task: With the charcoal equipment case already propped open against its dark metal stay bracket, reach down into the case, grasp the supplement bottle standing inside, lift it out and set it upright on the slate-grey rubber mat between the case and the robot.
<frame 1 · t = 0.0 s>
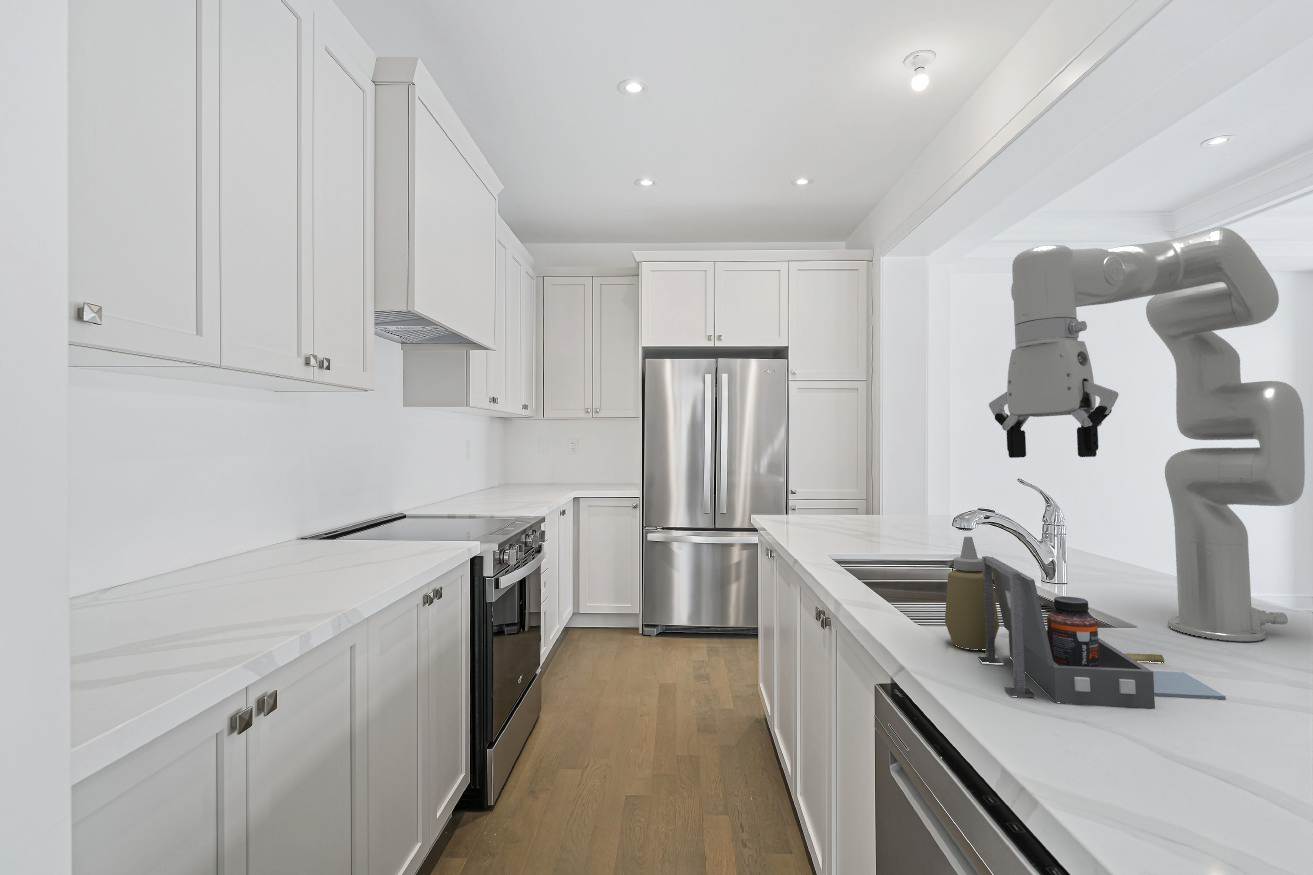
hand: (1050, 457, 89), 31 cm above the countertop, tool pointing down, fingers open, 9 cm apart
mat: (1165, 684, 86), on the countertop
squeeze bottle: (972, 647, 104), on the countertop
case: (1074, 680, 88), on the countertop
stay bracket: (1004, 676, 90), on the countertop
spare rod: (1116, 662, 96), on the countertop
supplement bottle: (1074, 681, 88), resting in case
lid: (1016, 605, 90), point 10 cm above the countertop, hinge at 100.0°
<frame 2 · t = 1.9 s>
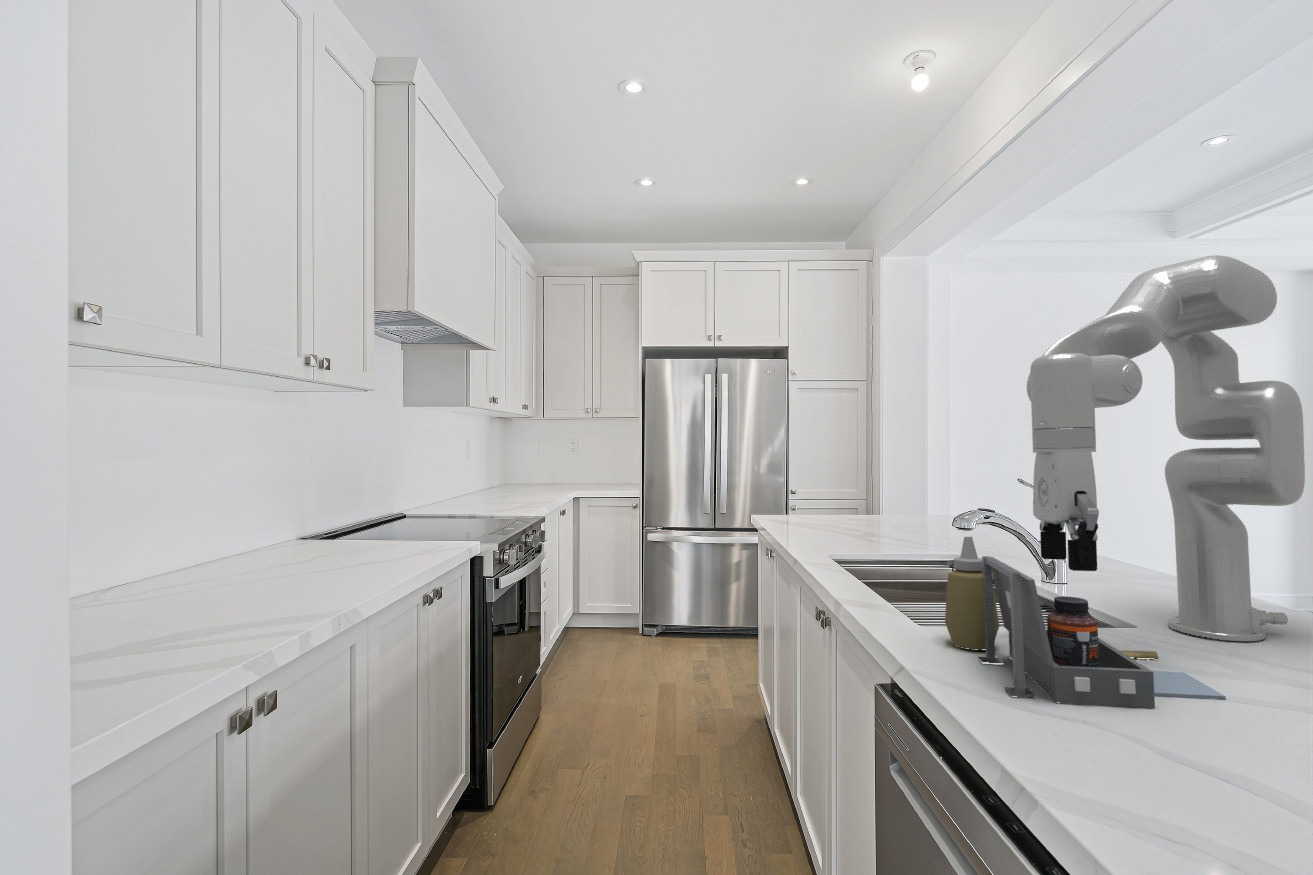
hand: (1067, 564, 88), 16 cm above the countertop, tool pointing down, fingers open, 9 cm apart
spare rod: (1111, 649, 97), point 1 cm above the countertop, tilted 171°
everything else where it was.
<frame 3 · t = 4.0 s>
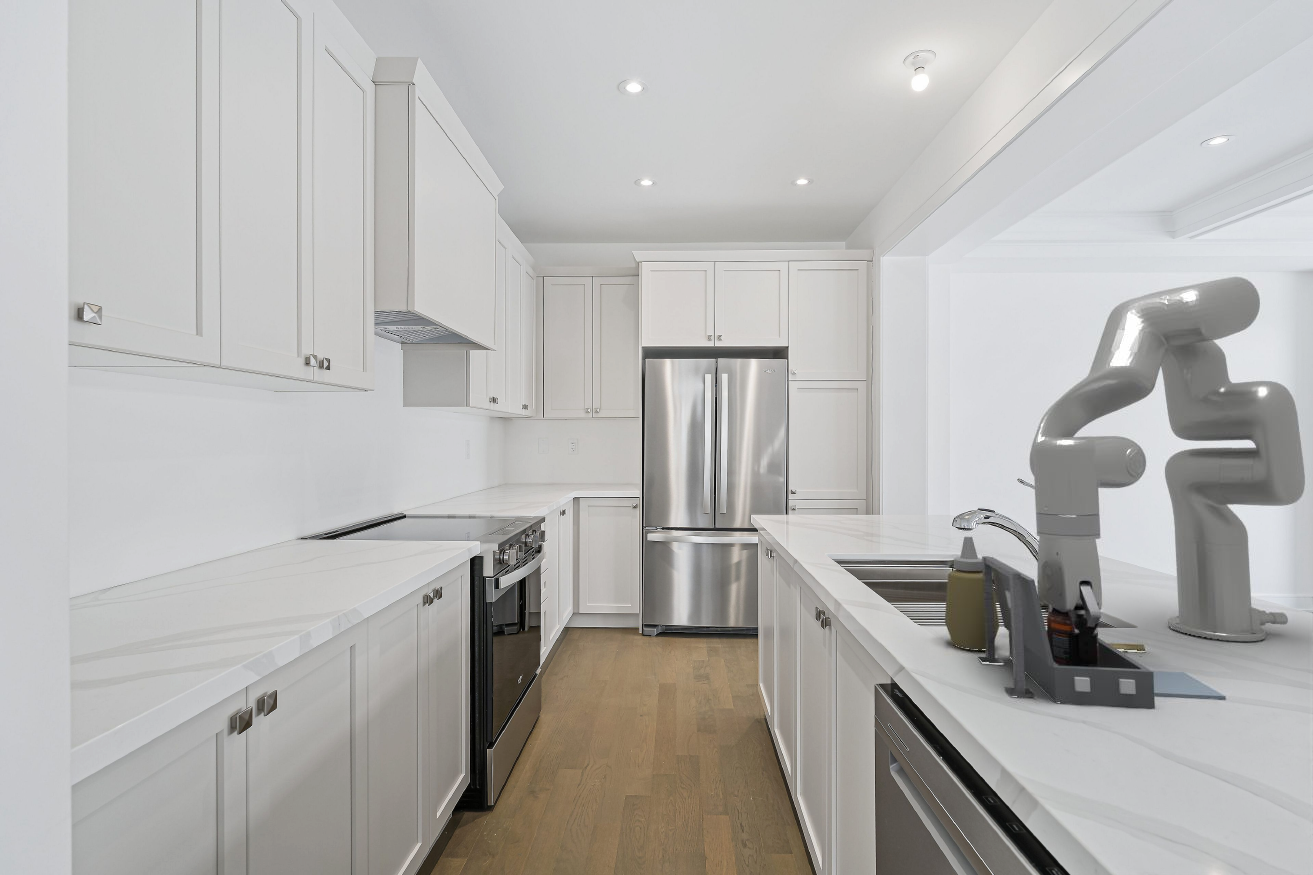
hand: (1073, 654, 88), 4 cm above the countertop, tool pointing down, fingers closed on supplement bottle, 6 cm apart
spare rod: (1099, 642, 101), point 1 cm above the countertop, tilted 170°
supplement bottle: (1074, 681, 88), resting in case, touching gripper
everything else where it was.
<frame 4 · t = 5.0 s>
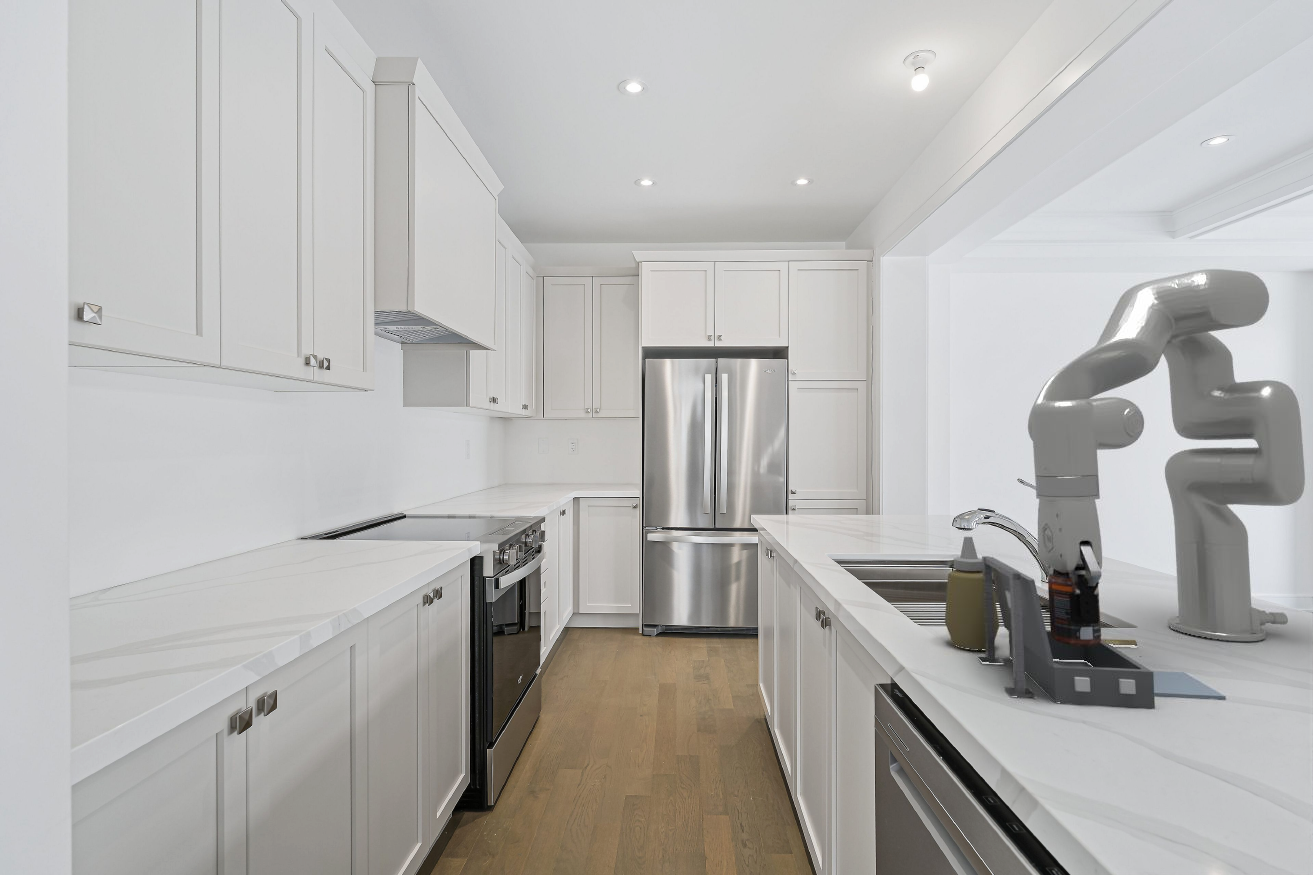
hand: (1074, 614, 89), 9 cm above the countertop, tool pointing down, fingers closed on supplement bottle, 6 cm apart
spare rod: (1095, 645, 102), on the countertop, tilted 75°
supplement bottle: (1076, 642, 89), point 5 cm above the countertop, touching gripper
everything else where it was.
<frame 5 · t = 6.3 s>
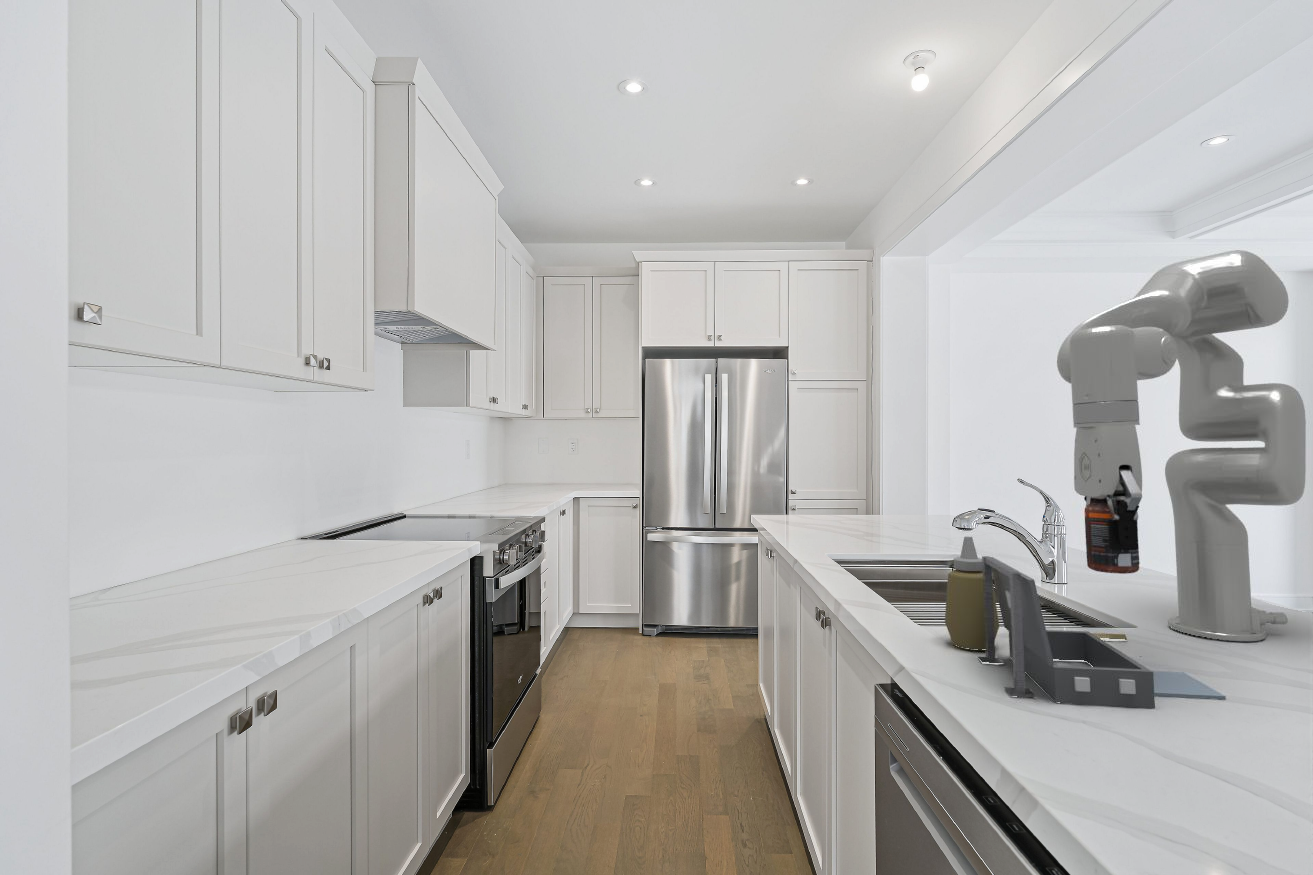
hand: (1112, 544, 88), 19 cm above the countertop, tool pointing down, fingers closed on supplement bottle, 6 cm apart
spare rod: (1086, 639, 106), on the countertop, tilted 66°
supplement bottle: (1113, 571, 88), point 15 cm above the countertop, touching gripper
everything else where it was.
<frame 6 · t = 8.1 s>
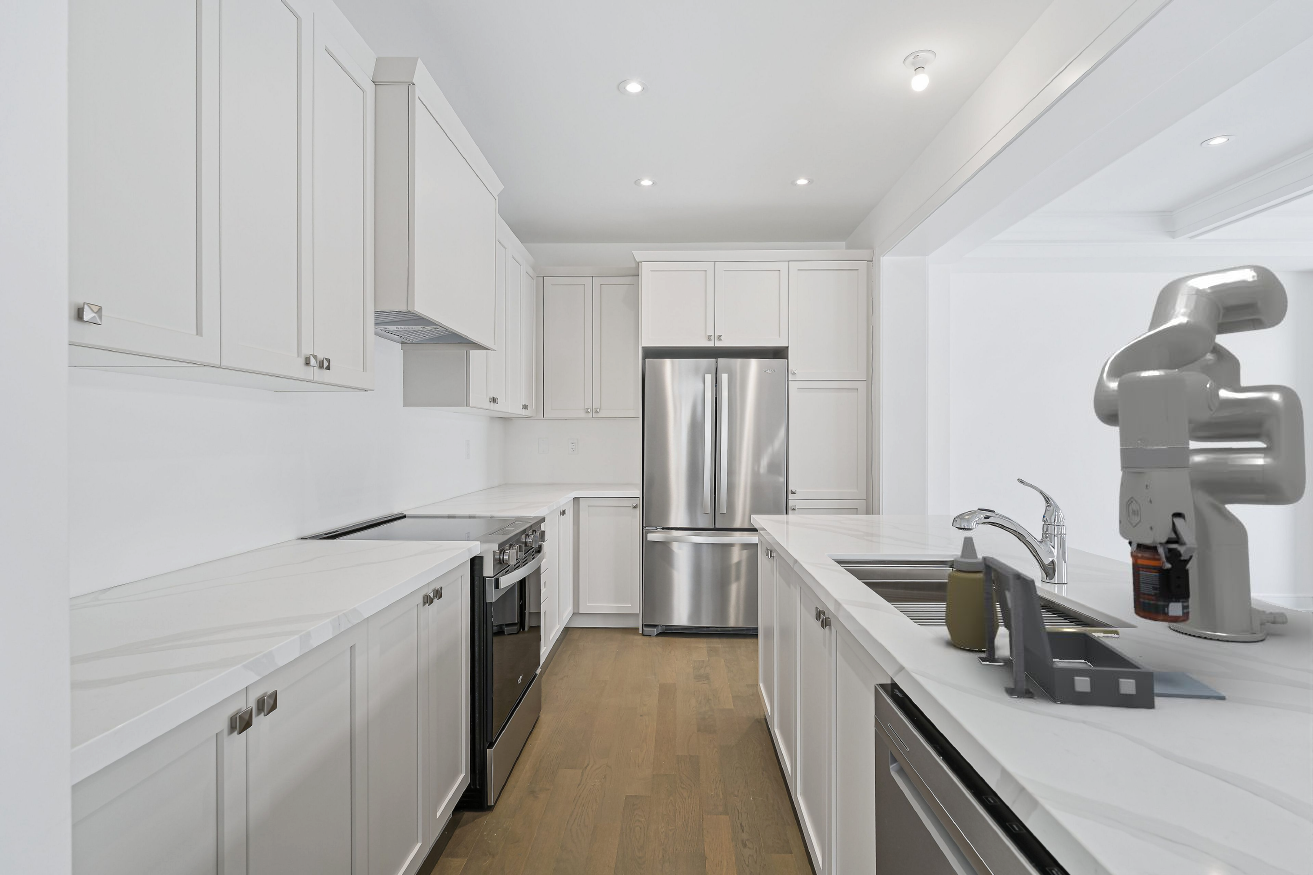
hand: (1160, 591, 86), 13 cm above the countertop, tool pointing down, fingers closed on supplement bottle, 6 cm apart
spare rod: (1077, 635, 109), on the countertop, tilted 25°
supplement bottle: (1161, 620, 86), point 9 cm above the countertop, touching gripper
everything else where it was.
when the fingers open (5 cm above the countertop, at t = 10.3 s): supplement bottle stays where it is, resting on mat.
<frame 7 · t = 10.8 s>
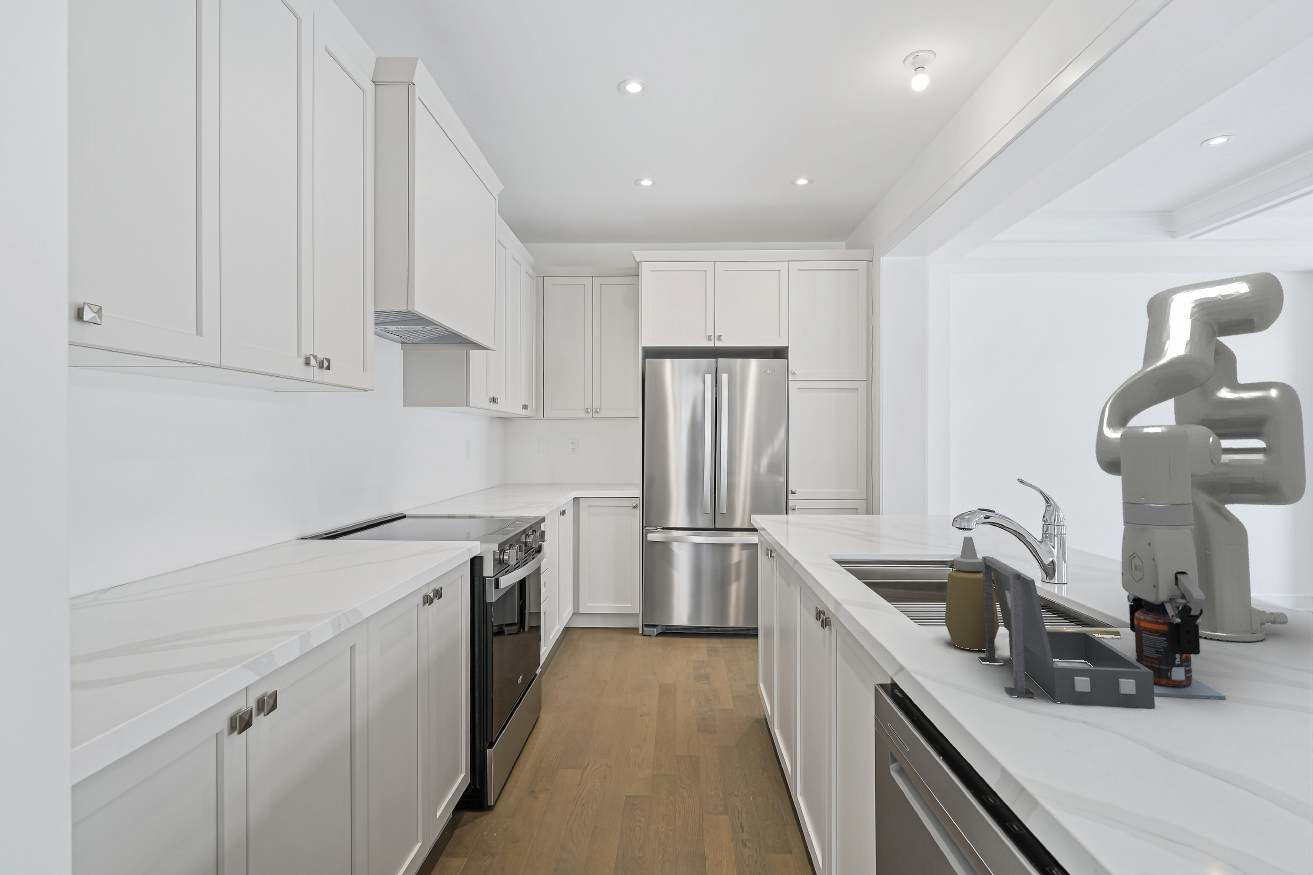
hand: (1163, 642, 86), 6 cm above the countertop, tool pointing down, fingers open, 9 cm apart
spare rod: (1077, 632, 109), on the countertop, tilted 87°
supplement bottle: (1164, 682, 86), resting on mat
everything else where it was.
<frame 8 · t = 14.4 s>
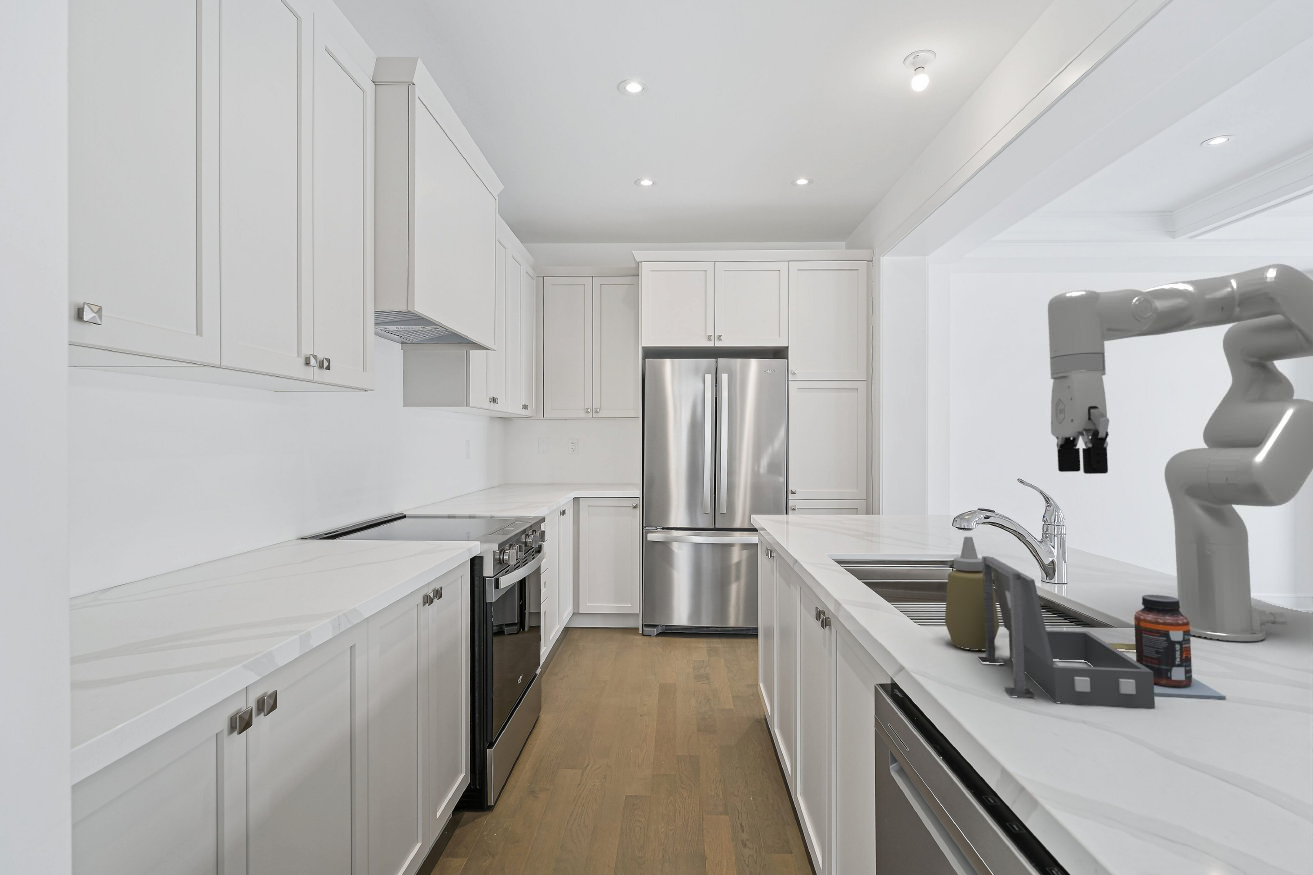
hand: (1081, 472, 103), 28 cm above the countertop, tool pointing down, fingers open, 9 cm apart
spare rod: (1099, 642, 101), point 1 cm above the countertop, tilted 167°
everything else where it was.
at the end: supplement bottle inside the target area on the mat (0.4 cm from its centre), point 0.2 cm above the mat's base; supplement bottle tilted 0°; the gripper is holding nothing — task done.
